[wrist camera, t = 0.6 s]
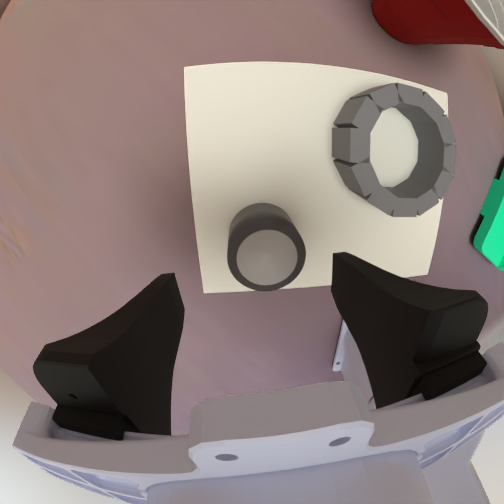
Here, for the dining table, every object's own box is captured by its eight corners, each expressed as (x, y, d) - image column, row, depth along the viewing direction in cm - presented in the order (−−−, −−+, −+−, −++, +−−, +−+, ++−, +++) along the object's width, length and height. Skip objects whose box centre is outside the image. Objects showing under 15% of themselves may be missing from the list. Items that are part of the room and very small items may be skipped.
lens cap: (293, 262, 22) (304, 290, 18) (231, 265, 22) (230, 294, 18) (294, 201, 20) (308, 219, 16) (226, 204, 20) (223, 223, 16)
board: (423, 270, 24) (446, 292, 20) (204, 288, 23) (199, 318, 20) (441, 93, 17) (472, 92, 13) (186, 69, 16) (173, 54, 12)
